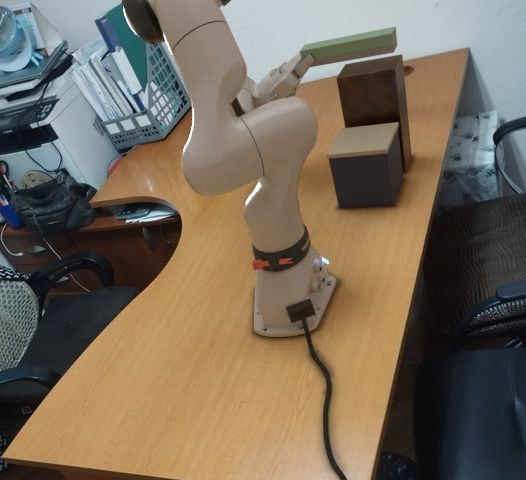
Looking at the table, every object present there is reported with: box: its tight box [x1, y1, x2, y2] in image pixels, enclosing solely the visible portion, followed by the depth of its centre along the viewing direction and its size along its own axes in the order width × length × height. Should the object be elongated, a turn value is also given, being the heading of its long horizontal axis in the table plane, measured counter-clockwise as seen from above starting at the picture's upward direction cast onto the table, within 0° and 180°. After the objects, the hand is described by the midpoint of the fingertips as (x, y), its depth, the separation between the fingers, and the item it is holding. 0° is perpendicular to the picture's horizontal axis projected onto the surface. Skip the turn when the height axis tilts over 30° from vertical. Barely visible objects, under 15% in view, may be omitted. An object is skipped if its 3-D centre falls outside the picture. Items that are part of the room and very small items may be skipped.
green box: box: [299, 26, 398, 69], centre depth 119 cm, size 22×4×4 cm, turn 66°
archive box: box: [326, 122, 404, 209], centre depth 126 cm, size 14×12×15 cm
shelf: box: [336, 53, 413, 174], centre depth 130 cm, size 14×8×26 cm, turn 66°
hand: (316, 52), depth 123 cm, fingers closed on green box, 4 cm apart
